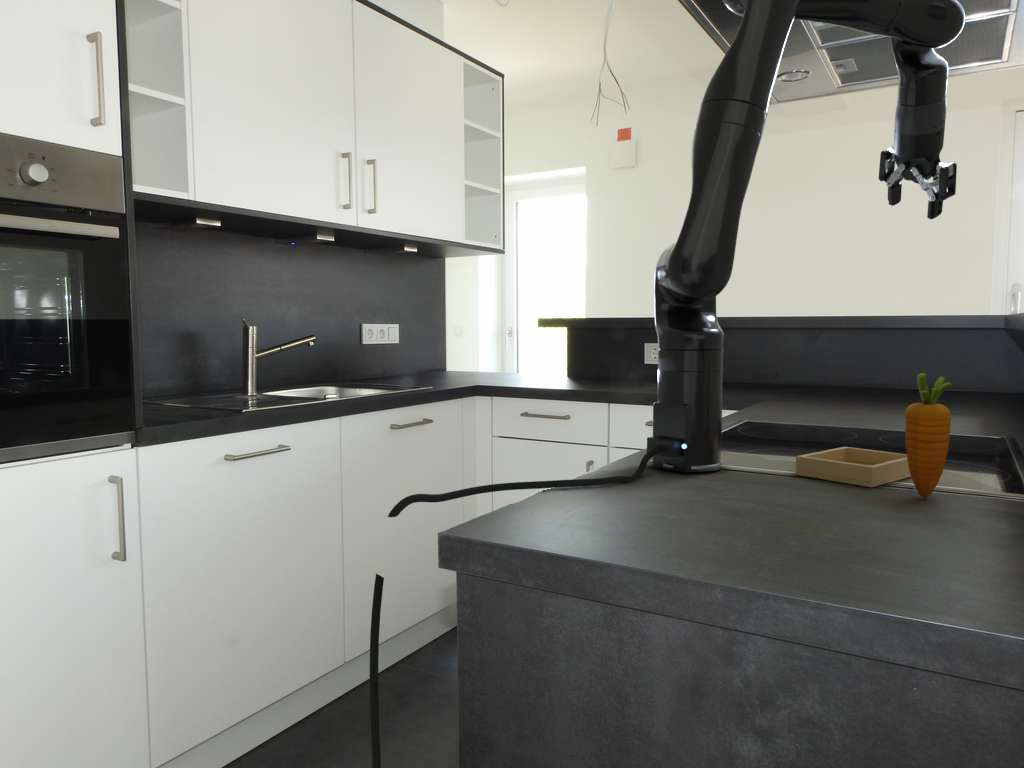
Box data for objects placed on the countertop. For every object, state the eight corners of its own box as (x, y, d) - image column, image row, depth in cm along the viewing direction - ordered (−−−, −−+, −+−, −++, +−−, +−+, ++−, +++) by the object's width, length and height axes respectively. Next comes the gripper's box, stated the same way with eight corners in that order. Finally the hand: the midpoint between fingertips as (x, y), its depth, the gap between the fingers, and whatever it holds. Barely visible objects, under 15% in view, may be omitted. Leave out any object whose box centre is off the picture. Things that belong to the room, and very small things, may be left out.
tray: (872, 487, 92) (873, 467, 91) (795, 474, 100) (795, 456, 100) (918, 474, 100) (919, 455, 100) (844, 463, 108) (844, 446, 108)
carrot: (936, 494, 88) (941, 371, 87) (957, 503, 83) (962, 374, 82) (893, 493, 88) (898, 371, 87) (911, 502, 83) (917, 373, 82)
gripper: (869, 124, 127) (866, 207, 136) (938, 141, 115) (930, 230, 125) (902, 108, 128) (898, 191, 137) (974, 123, 117) (964, 213, 126)
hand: (913, 210), depth 131 cm, fingers open, 8 cm apart
